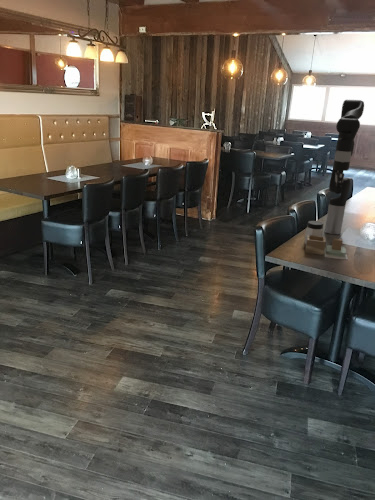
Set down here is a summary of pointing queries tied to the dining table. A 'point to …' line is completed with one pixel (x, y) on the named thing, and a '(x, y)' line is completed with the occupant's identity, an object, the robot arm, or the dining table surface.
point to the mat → (344, 256)
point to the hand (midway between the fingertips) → (336, 192)
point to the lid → (336, 247)
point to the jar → (314, 229)
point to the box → (315, 245)
